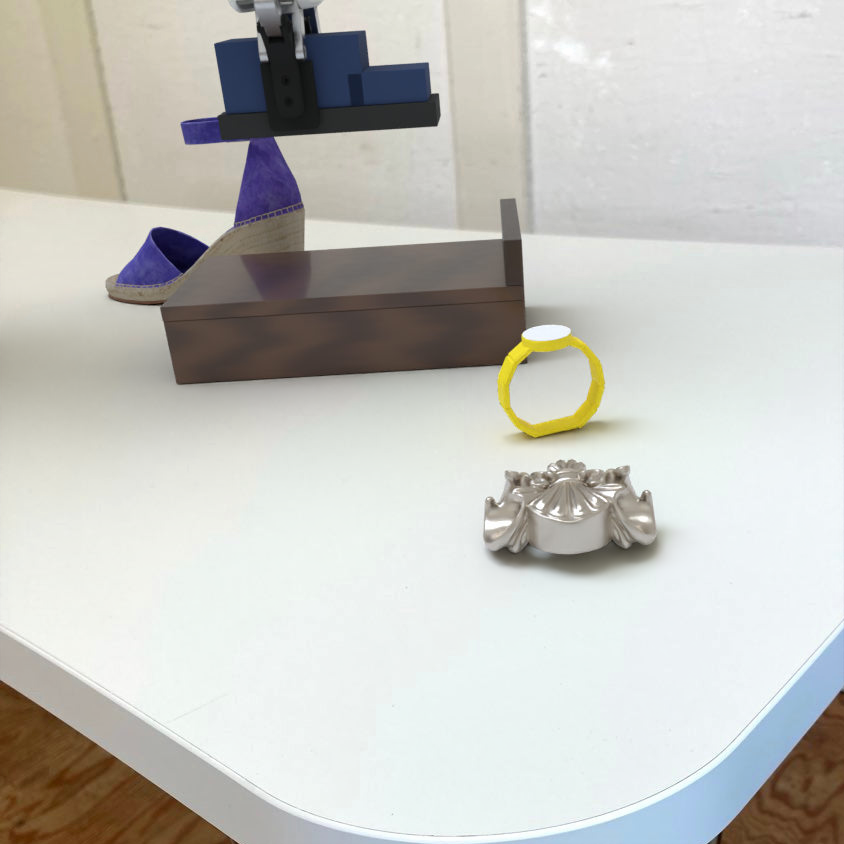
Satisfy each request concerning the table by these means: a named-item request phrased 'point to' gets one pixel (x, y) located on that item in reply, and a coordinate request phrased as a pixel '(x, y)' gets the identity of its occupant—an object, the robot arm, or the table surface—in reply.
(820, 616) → the table surface
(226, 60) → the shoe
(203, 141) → the sandal
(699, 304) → the table surface
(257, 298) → the wooden riser with lip
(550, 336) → the watch
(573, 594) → the table surface
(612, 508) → the ornament
